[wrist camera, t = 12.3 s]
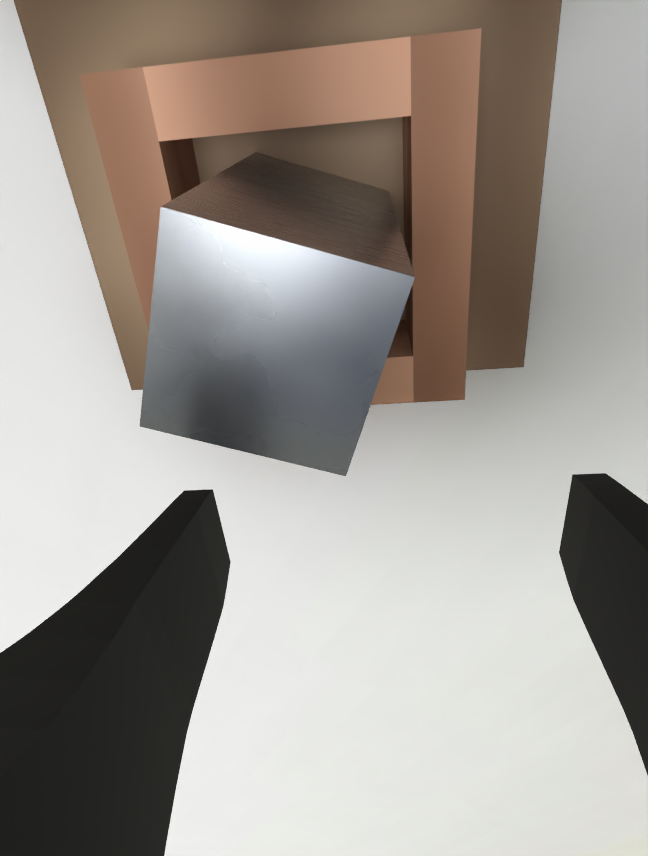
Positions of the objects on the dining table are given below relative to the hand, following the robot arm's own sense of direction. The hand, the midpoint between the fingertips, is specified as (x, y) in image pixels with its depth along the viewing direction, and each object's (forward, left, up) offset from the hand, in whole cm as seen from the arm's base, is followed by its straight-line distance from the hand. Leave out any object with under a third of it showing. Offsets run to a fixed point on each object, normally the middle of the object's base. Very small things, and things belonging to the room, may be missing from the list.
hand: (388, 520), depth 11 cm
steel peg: (+2, -4, -9) cm, 10 cm away
